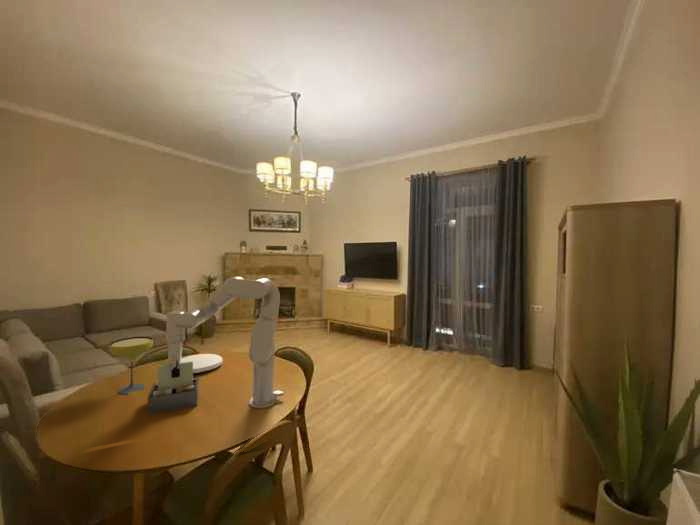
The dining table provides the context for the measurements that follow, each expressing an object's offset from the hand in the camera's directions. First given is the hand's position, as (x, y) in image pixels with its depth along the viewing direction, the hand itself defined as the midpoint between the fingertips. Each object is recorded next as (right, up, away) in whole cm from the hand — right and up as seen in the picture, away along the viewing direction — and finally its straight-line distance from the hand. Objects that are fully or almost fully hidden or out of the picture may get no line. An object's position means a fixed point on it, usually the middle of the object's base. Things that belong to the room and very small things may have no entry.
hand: (175, 376), depth 135 cm
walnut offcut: (+6, -12, -2) cm, 14 cm away
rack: (0, -13, 0) cm, 13 cm away
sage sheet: (0, -12, 0) cm, 12 cm away
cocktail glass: (-31, -12, +13) cm, 36 cm away
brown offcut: (-3, -12, -6) cm, 14 cm away
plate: (-12, -12, +44) cm, 47 cm away
